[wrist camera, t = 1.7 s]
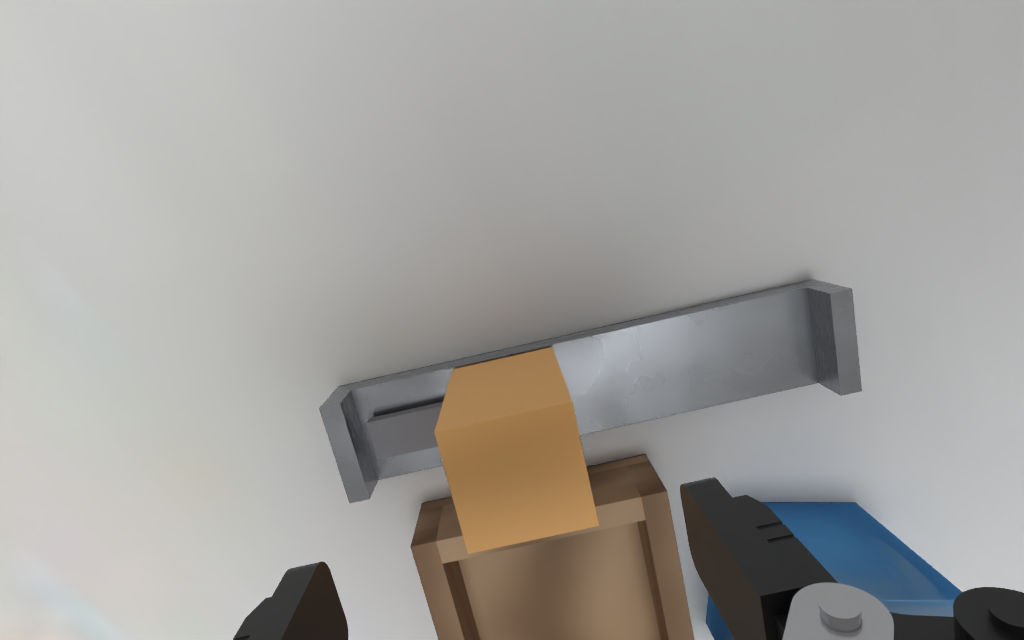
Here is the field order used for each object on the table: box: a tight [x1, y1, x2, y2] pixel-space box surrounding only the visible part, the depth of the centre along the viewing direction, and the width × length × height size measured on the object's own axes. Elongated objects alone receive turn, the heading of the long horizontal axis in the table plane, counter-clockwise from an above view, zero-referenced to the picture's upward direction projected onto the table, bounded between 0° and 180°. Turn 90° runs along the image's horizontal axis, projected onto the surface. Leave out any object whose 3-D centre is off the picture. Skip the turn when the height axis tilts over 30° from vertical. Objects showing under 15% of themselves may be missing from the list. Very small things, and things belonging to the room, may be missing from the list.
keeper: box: [411, 455, 694, 640], centre depth 23 cm, size 10×10×3 cm
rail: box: [319, 280, 862, 503], centre depth 22 cm, size 20×4×2 cm, turn 103°
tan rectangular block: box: [367, 347, 599, 554], centre depth 19 cm, size 8×4×6 cm, turn 103°
